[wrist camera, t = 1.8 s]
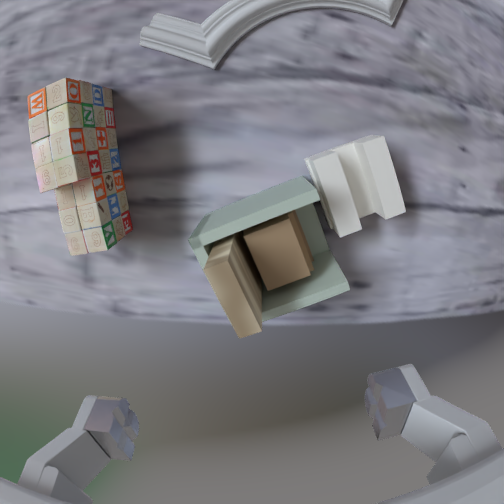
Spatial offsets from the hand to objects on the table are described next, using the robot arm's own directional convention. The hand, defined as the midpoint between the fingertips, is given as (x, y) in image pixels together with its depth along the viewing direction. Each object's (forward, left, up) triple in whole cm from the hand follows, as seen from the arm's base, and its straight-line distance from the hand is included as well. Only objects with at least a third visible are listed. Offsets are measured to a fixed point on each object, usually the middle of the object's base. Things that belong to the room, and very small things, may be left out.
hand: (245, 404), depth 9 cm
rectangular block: (+1, +7, -34) cm, 34 cm away
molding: (+3, -30, -36) cm, 47 cm away
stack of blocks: (+23, -1, -35) cm, 42 cm away
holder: (-12, -5, -35) cm, 37 cm away
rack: (-3, +5, -35) cm, 35 cm away
